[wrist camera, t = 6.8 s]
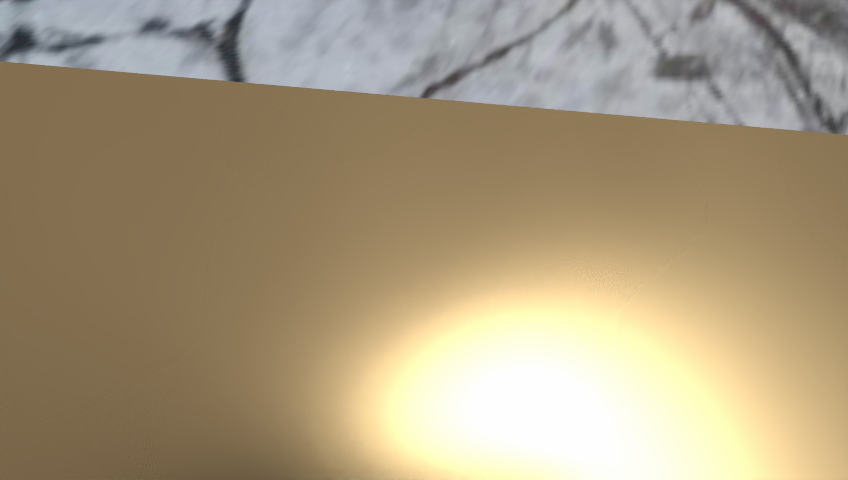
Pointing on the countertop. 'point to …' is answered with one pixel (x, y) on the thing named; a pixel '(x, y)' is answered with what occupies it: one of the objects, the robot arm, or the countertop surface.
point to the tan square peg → (410, 288)
